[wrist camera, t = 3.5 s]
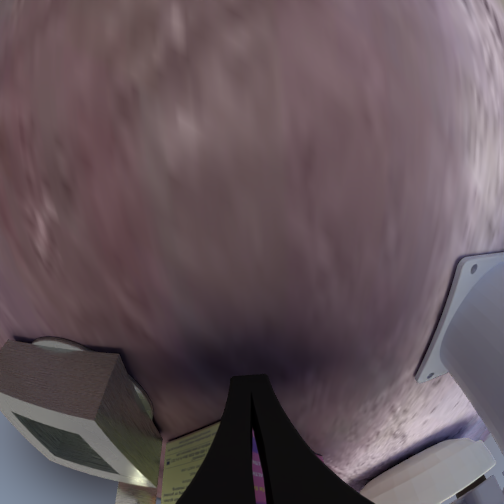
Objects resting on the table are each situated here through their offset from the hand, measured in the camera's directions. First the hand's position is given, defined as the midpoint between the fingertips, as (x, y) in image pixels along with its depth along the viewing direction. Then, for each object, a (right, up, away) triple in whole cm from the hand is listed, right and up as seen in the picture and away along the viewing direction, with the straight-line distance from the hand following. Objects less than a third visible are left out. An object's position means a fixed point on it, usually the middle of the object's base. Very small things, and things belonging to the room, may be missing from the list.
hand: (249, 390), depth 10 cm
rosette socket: (-9, -2, +1) cm, 9 cm away
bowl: (+20, -22, +13) cm, 32 cm away
